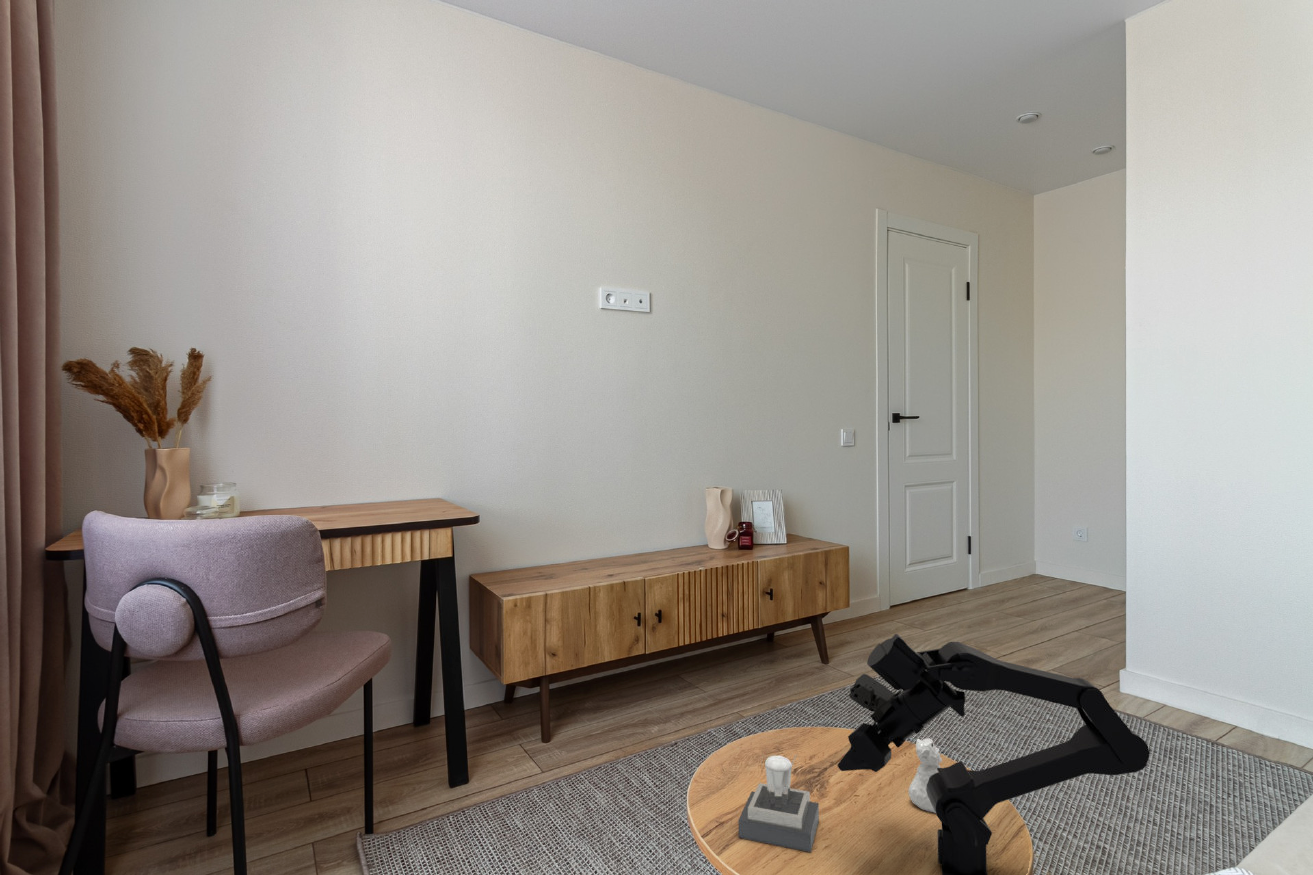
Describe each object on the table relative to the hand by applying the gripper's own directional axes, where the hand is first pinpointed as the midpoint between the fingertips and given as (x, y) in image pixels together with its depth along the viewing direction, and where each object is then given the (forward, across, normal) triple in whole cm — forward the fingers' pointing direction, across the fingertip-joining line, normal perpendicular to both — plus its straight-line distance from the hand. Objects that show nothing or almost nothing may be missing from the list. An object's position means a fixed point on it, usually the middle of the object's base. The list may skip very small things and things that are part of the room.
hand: (849, 757), depth 116 cm
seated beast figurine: (+4, -19, +16) cm, 25 cm away
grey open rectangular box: (+17, +4, +2) cm, 18 cm away
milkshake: (+15, +4, 0) cm, 16 cm away
